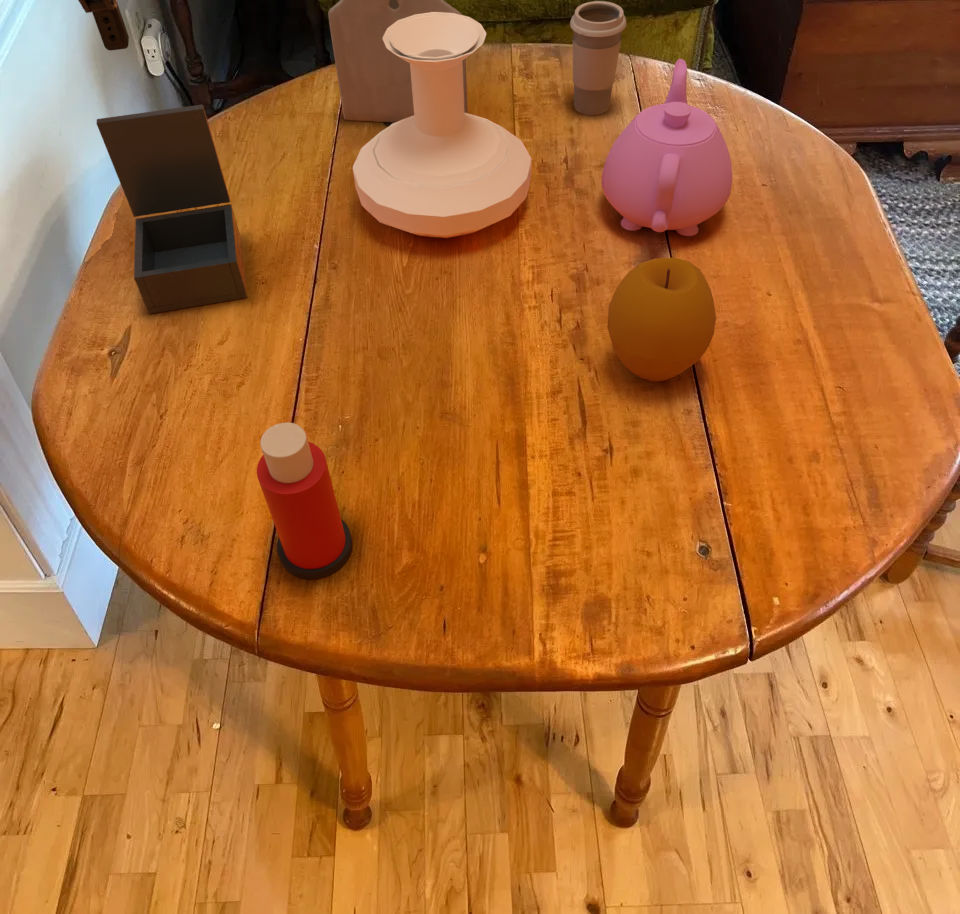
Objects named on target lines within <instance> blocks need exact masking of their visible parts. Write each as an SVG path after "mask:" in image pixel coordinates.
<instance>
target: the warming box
mask: <svg viewBox="0 0 960 914" xmlns="http://www.w3.org/2000/svg"><path fill="white" fill-rule="evenodd" d="M234 212H235V211H234V209H233V205H232V203H229V204H228V203H227V204H222V205H214V206H209V207H203V208H202V207H201V208H196V209H190V210H189V209H188V210H184V211H183V210H182V211H176V212H170V213H162V214H156V215H150V216H143V217H137V218H135V219H134V220H135V221H134V222H135V225H134V263H133V266H134V267H133V279H134V281H135V283H136V286H137V288H138V291H139V293H140V296H141V298H142V300H143V303H144V306H145V308H146V310H147V312H148V315H152V314H159V313H165V312H171V311H176V310H183V309H188V308H194V307H200V306H207V305H212V304H219V303H224V302H225V303H226V302H230V301H237V300H242V299H248V290H247V282H246V270H245V261H244V251H243V250H244V249H243V242H242V241H243V240H242V237H241V233H240V230H239V226H238V222H237V219H236V216H235V213H234Z"/></svg>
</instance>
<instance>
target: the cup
mask: <svg viewBox="0 0 960 914" xmlns="http://www.w3.org/2000/svg"><path fill="white" fill-rule="evenodd" d="M624 12H625V11H624V9H623V8H622V7H621V6H620V5H618V4H616V3H614V2H612V1H611V2H610V1H605V0H594V1H593V0H592V1H588V2H584V3H582V4H579V5H578V6H577V7H576V8H575V10H574V14H573V15H572V16H571V19H570V22H569V26H570V28H571V30H572V31H573V35H572V83H573V108H574V110H575V111H576V112H578V113H580V114H583V115H586V116H597V115H602V114H605V113H606V112H608V111H609V109H610V105H611V98H612V92H613V87H614V86H613V85H614V83H615V80H616V75H617V74H616V73H617V69H618V61H619V56H620V49H621V42H622V31H624V30H625V28H626V27H627V18H626V15H625V14H624Z"/></svg>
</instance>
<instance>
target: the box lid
mask: <svg viewBox="0 0 960 914" xmlns="http://www.w3.org/2000/svg"><path fill="white" fill-rule="evenodd" d="M96 126H97V129H98V131H99V134H100V136H101V139H102V141H103V143H104V146H105V149H106V151H107V153H108V156H109V159H110V161H111V163H112V166H113V168H114V171H115V173H116V176H117V178H118V180H119V183H120V186H121V189H122V191H123V194H124V196H125V198H126V201H127V204H128V206H129V209H130V210H131V213H132V216H133V217H134V218H135V217H137V218H138V217H144V216H148V215H150V216H151V215H155V214H156V215H157V214H164V213H169V212H175V211H176V212H177V211H183V210H189V209H195V208H202V207H207V206H209V207H210V206H216V205H220V204H222V205H223V204H228V203H231V197H230V193H229V190H228V187H227V186H228V185H227V183H226V179H225V176H224V173H223V170H222V165H221V162H220V159H219V156H218V152H217V148H216V145H215V141H214V138H213V134H212V130H211V127H210V124H209V121H208V117H207V114H206V110H205V107H204V104H197V105H188V106H182V107H181V106H180V107H174V108H168V109H160V110H153V111H146V112H139V113H132V114H122V115H117V116H116V115H115V116H108V117H102V118H97V119H96Z"/></svg>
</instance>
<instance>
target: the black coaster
mask: <svg viewBox="0 0 960 914" xmlns="http://www.w3.org/2000/svg"><path fill="white" fill-rule="evenodd" d="M341 521H342V525H343V529H344V533H345V538H346V541H345V547H344V549H343V551H342V553H341V554H340V556H339V557H338V558H337V559H336V560H335V561H333V562H332V563H330V564H329V565H327V566H324V567H321V568H317V569H305V568H301V567H298V566H296V565H294V564H293V563H291V562H290V561H289V560H288V558H287V557H286V555H285V552H284V550H283V547H282V544H281V541H280V538H279V537H277V541H276V553H277V555H278V558H279V560H280V563H281V565H282V566H283V568H284V569H285V570H286V572H288V573H289V574H291V575H293V576H295V577H296V578H301V579H304V580H318V579H322V578H326V577H328V576H331V575H332V574H335V573H336V572H338V571H339V570H340V569H341V568H342V567H343V566H344V565H345V564H346V563H347V561H348V560H349V558H350V556H351V554H352V550H353V539H352V534H351V530H350V528H349V526H348V525H347V523H346V522H345V521H344V520H343V519H342V518H341Z"/></svg>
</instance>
